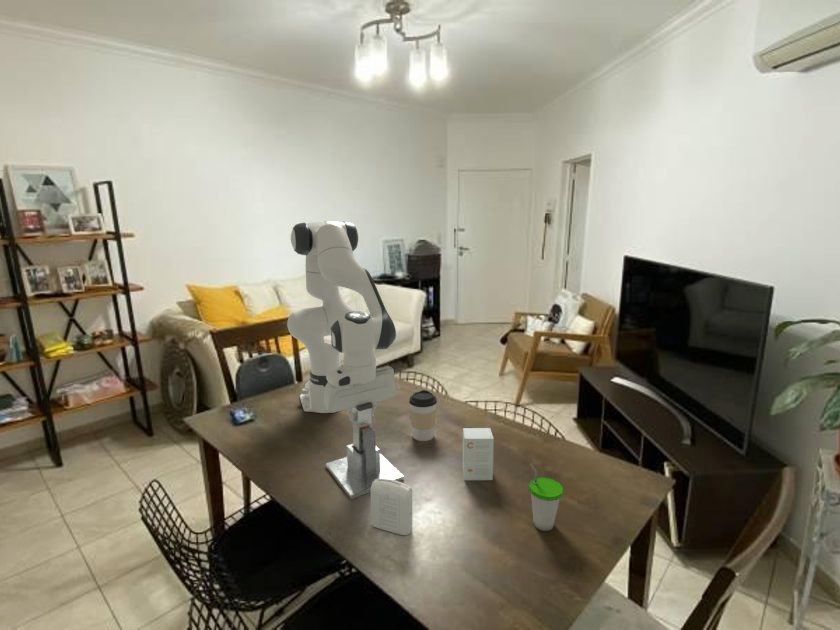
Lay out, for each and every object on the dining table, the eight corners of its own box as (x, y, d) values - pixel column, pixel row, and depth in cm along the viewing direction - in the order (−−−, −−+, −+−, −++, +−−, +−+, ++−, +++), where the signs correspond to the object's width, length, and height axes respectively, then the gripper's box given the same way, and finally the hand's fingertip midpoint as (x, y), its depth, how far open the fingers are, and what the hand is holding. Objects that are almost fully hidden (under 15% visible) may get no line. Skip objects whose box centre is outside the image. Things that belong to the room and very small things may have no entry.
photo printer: (415, 526, 108) (414, 480, 105) (408, 538, 104) (407, 491, 101) (376, 516, 112) (375, 471, 109) (368, 527, 108) (366, 481, 105)
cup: (567, 531, 106) (572, 474, 103) (539, 539, 104) (543, 481, 100) (547, 511, 113) (551, 457, 110) (520, 518, 111) (523, 463, 107)
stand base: (326, 466, 133) (323, 418, 129) (374, 451, 141) (373, 405, 138) (351, 499, 118) (348, 445, 115) (403, 479, 127) (402, 429, 123)
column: (352, 461, 131) (350, 399, 126) (365, 456, 133) (363, 396, 128) (361, 470, 126) (359, 407, 121) (374, 466, 128) (372, 403, 123)
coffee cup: (434, 444, 146) (434, 400, 142) (406, 441, 147) (406, 398, 144) (438, 430, 154) (438, 389, 151) (412, 428, 156) (412, 387, 152)
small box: (489, 468, 132) (490, 427, 129) (492, 480, 126) (494, 438, 123) (461, 468, 132) (462, 427, 129) (463, 481, 126) (464, 438, 123)
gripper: (388, 361, 131) (389, 405, 134) (320, 375, 120) (323, 423, 123) (398, 367, 125) (399, 413, 129) (328, 383, 115) (331, 432, 118)
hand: (361, 418), depth 126 cm, fingers closed on column, 4 cm apart
